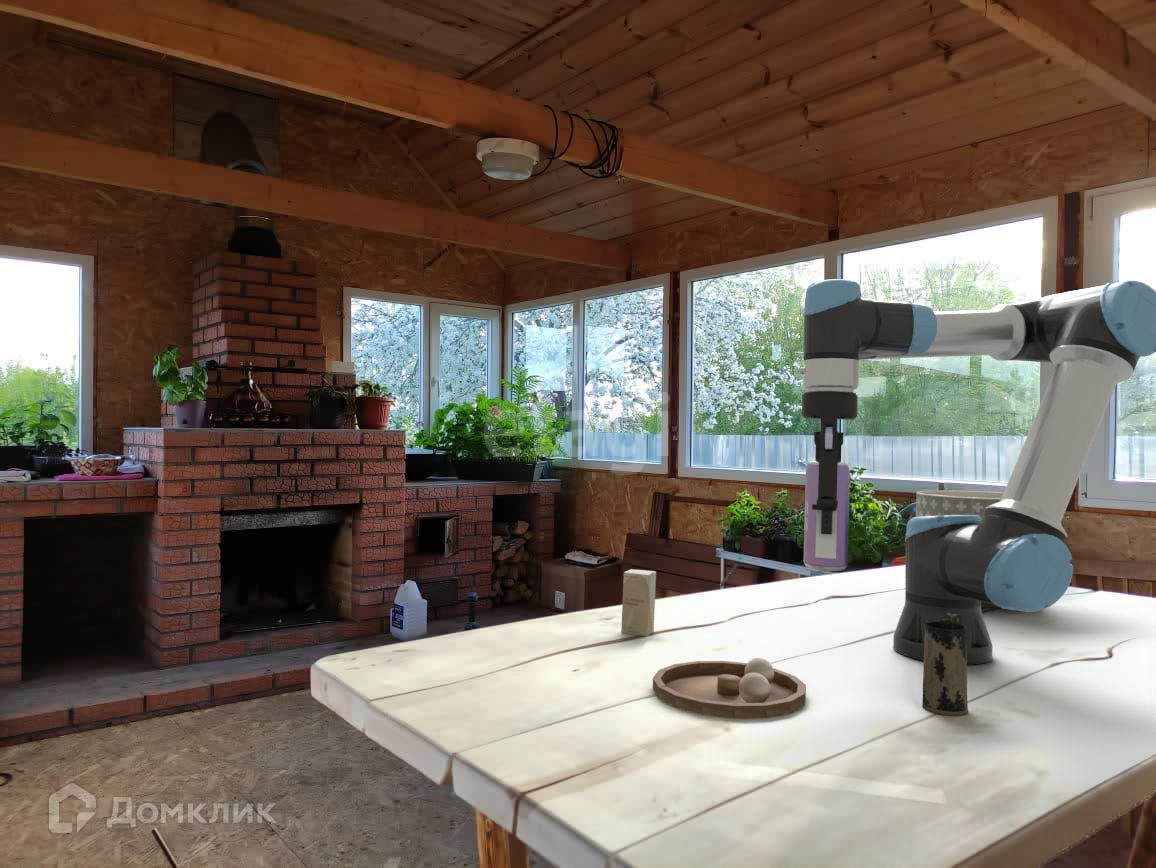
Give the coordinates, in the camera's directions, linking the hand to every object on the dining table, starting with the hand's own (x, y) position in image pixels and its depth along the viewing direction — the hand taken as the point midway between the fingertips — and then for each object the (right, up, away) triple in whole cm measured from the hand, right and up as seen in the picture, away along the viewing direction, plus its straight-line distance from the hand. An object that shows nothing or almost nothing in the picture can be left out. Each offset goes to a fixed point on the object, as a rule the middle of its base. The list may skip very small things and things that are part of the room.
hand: (825, 554), depth 116 cm
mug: (+14, -20, -7) cm, 25 cm away
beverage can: (0, -2, 0) cm, 2 cm away
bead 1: (-10, -18, -3) cm, 21 cm away
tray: (-15, -19, -5) cm, 25 cm away
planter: (+53, -20, +65) cm, 86 cm away
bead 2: (-12, -18, -10) cm, 24 cm away
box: (-24, -19, +32) cm, 45 cm away
